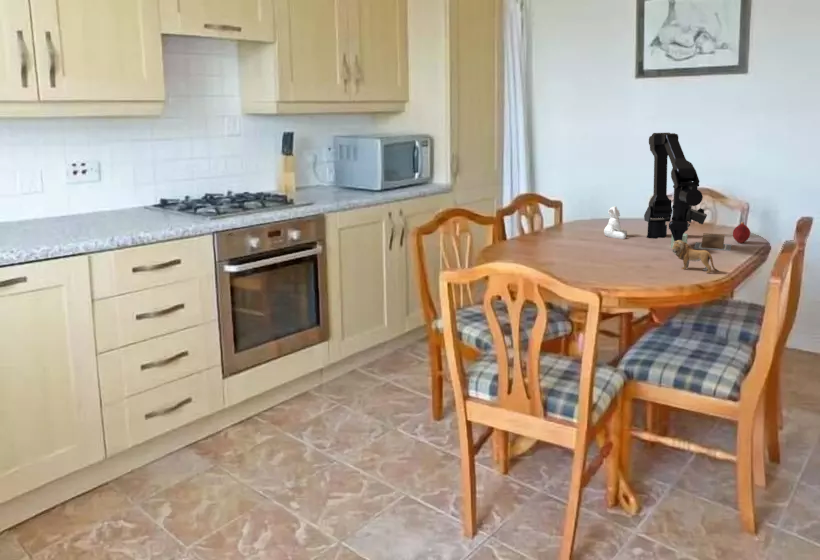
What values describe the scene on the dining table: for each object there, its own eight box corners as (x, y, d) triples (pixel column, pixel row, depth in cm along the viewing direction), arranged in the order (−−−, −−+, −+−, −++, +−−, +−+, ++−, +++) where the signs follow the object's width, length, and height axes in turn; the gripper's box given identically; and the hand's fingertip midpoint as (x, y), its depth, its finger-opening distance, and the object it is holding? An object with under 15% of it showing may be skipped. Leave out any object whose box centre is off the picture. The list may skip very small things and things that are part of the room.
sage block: (670, 249, 257) (671, 235, 256) (672, 246, 261) (672, 233, 260) (685, 250, 255) (686, 236, 253) (686, 247, 259) (687, 233, 258)
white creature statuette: (625, 239, 277) (626, 208, 274) (602, 238, 279) (603, 207, 277) (627, 235, 285) (628, 204, 282) (604, 234, 288) (605, 204, 285)
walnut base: (701, 247, 256) (702, 236, 255) (702, 244, 262) (703, 233, 261) (722, 248, 253) (723, 237, 252) (723, 245, 259) (724, 234, 258)
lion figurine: (668, 268, 228) (669, 241, 226) (674, 265, 232) (675, 238, 230) (716, 274, 219) (718, 245, 217) (721, 271, 223) (723, 243, 221)
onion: (751, 245, 259) (753, 223, 258) (734, 245, 261) (735, 223, 259) (747, 242, 265) (749, 220, 263) (730, 242, 266) (732, 220, 264)
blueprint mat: (693, 249, 255) (693, 248, 255) (695, 243, 266) (695, 242, 265) (730, 251, 250) (730, 250, 250) (731, 245, 261) (731, 244, 260)
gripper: (704, 206, 242) (701, 252, 246) (707, 199, 259) (704, 242, 263) (669, 205, 247) (667, 250, 251) (675, 198, 263) (672, 240, 267)
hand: (678, 245), depth 258 cm, fingers closed on sage block, 5 cm apart
